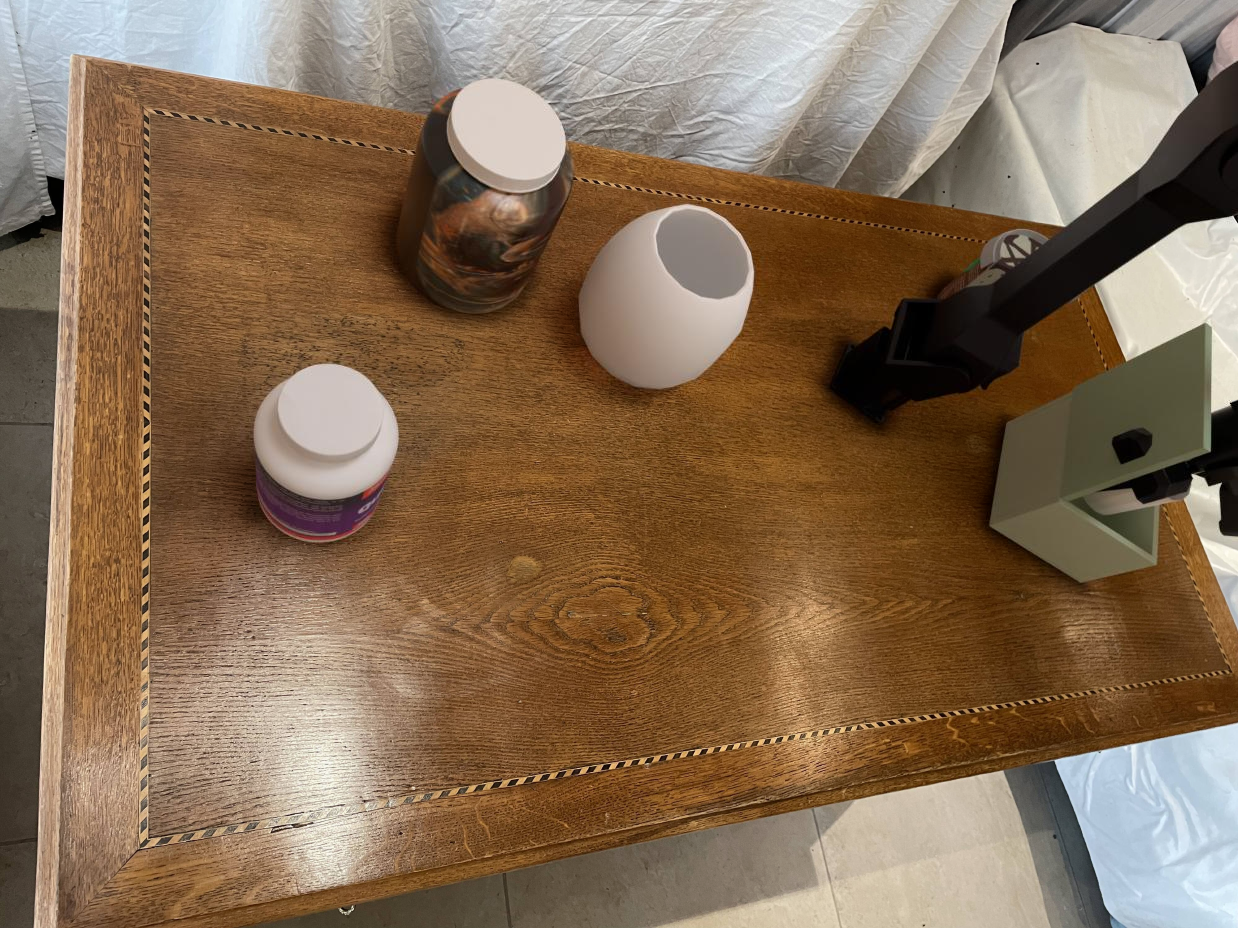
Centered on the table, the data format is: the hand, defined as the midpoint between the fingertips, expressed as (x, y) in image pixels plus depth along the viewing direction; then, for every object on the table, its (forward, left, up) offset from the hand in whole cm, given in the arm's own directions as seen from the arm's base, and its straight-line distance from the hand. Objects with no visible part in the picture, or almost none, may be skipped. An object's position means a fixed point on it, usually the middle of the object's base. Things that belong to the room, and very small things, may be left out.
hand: (1111, 482), depth 77 cm
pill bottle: (-60, -41, -7) cm, 73 cm away
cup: (-47, -14, -7) cm, 50 cm away
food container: (-17, +18, -8) cm, 26 cm away
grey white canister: (0, 0, -2) cm, 2 cm away
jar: (-63, -17, -7) cm, 66 cm away
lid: (-7, -1, +8) cm, 10 cm away
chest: (-1, 0, -7) cm, 7 cm away
